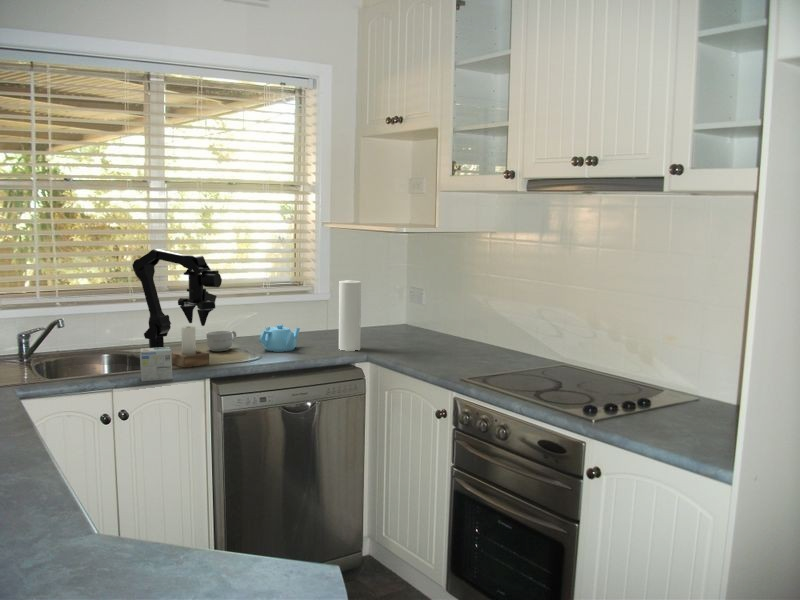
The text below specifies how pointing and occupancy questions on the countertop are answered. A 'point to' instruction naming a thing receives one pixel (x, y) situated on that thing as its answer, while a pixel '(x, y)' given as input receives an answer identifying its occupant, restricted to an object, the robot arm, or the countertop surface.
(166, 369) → the light bulb box
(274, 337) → the teapot
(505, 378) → the countertop surface
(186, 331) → the paper roll
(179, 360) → the cradle
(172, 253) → the robot arm
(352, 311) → the cylinder container
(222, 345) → the teacup
